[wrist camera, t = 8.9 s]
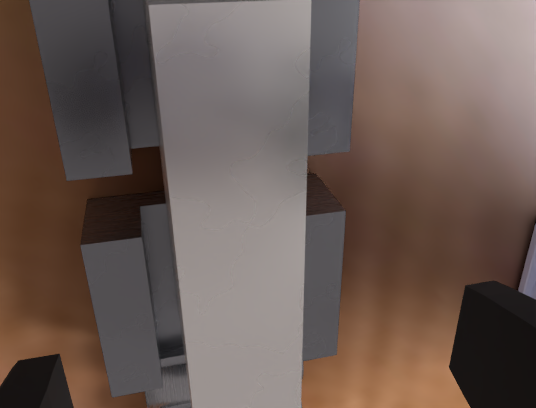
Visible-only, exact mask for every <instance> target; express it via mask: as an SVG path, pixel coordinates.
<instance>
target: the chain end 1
mask: <svg viewBox="0 0 536 408" xmlns="http://www.w3.org/2000/svg"><path fill="white" fill-rule="evenodd" d="M359 1H360V0H311V38H310V76H309V115H308V153H307V156H311V155H321V154H330V153H340V152H349V151H350V140H351V125H352V109H353V94H354V78H355V63H356V48H357V32H358V17H359ZM29 2H30V7H31V12H32V16H33V21H34V26H35V31H36V36H37V40H38V45H39V50H40V55H41V60H42V64H43V69H44V74H45V79H46V83H47V88H48V93H49V98H50V103H51V107H52V112H53V117H54V122H55V127H56V131H57V136H58V141H59V146H60V151H61V155H62V160H63V165H64V170H65V174H66V179H67V181H71V180H80V179H90V178H100V177H109V176H119V175H128V174H133V172H132V149H133V148H143V147H154V146H159V139H158V130H157V121H156V112H155V103H154V95H153V86H152V77H151V68H150V59H149V50H148V42H147V33H146V24H145V15H144V6H143V0H29Z"/></svg>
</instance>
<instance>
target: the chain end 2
mask: <svg viewBox="0 0 536 408" xmlns="http://www.w3.org/2000/svg"><path fill="white" fill-rule="evenodd" d="M345 217H346V210H345V209H344V208H343V207H342V205H341V204H340V203H339V202H338V201H337V199H336V198H335V197H334V196H333V194H332V193H331V192H330V191H329V190H328V188H327V187H326V186H325V185H324V183H323V182H322V181H321V180H320V179H319V177H318V176H317V175H316V174H309V175H307V192H306V230H305V268H304V307H303V345H302V379H303V361H307V360H312V359H317V358H322V357H328V356H333V355H337V340H338V325H339V309H340V294H341V279H342V263H343V248H344V232H345ZM80 246H81V251H82V256H83V261H84V265H85V270H86V275H87V280H88V285H89V289H90V294H91V299H92V304H93V309H94V313H95V318H96V323H97V328H98V333H99V337H100V342H101V347H102V352H103V357H104V361H105V366H106V371H107V376H108V380H109V385H110V390H111V395H112V397H117V396H123V395H128V394H133V393H139V392H144V391H145V396H146V403H147V408H192V406H191V399H190V392H189V385H188V378H187V371H186V364H185V356H184V349H183V342H182V335H181V328H180V321H179V314H178V306H177V297H176V288H175V279H174V271H173V262H172V253H171V244H170V235H169V227H168V218H167V209H166V200H165V191H158V192H149V193H140V194H131V195H122V196H113V197H104V198H95V199H87V204H86V211H85V217H84V224H83V231H82V237H81V244H80ZM301 408H302V404H301Z"/></svg>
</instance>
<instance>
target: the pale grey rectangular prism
mask: <svg viewBox="0 0 536 408" xmlns="http://www.w3.org/2000/svg"><path fill="white" fill-rule="evenodd" d="M143 6H144V15H145V24H146V33H147V42H148V50H149V59H150V68H151V77H152V86H153V95H154V103H155V112H156V121H157V130H158V139H159V147H160V156H161V165H162V174H163V183H164V191H165V200H166V209H167V218H168V227H169V235H170V244H171V253H172V262H173V271H174V279H175V288H176V297H177V306H178V314H179V321H180V328H181V335H182V342H183V349H184V356H185V364H186V371H187V378H188V385H189V392H190V399H191V406H192V408H301V384H302V345H303V307H304V268H305V230H306V192H307V153H308V115H309V76H310V38H311V0H143Z"/></svg>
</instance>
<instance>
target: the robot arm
mask: <svg viewBox="0 0 536 408" xmlns="http://www.w3.org/2000/svg"><path fill="white" fill-rule="evenodd" d="M449 368H450V370H451V372H452V374H453V376H454V378H455V380H456V382H457V384H458V386H459V387H460V389H461V391H462V393H463V395H464V397H465V399H466V400H467V402H468V404H469V406H470V407H471V408H536V224H535V227H534V231H533V235H532V239H531V243H530V246H529V250H528V254H527V258H526V262H525V266H524V270H523V274H522V277H521V281H520V285H519V289H518V291H517V290H515V289H512V288H510V287H508V286H506V285H503V284H501V283H499V282H496V281H489V282H483V283H477V284H471V285H465V290H464V295H463V300H462V305H461V310H460V315H459V320H458V325H457V330H456V335H455V340H454V345H453V350H452V355H451V360H450V365H449ZM0 408H73V404H72V400H71V396H70V392H69V388H68V385H67V381H66V377H65V373H64V369H63V365H62V361H61V358H60V354H55V355H49V356H43V357H37V358H31V359H25V360H19V361H18V362H17V363H16V364H15V365H14V366H13V367H12V369H11V371H10V372H9V374H8V375H7V377H6V378H5V380H4V381H3V383H2V384H1V386H0Z"/></svg>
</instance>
